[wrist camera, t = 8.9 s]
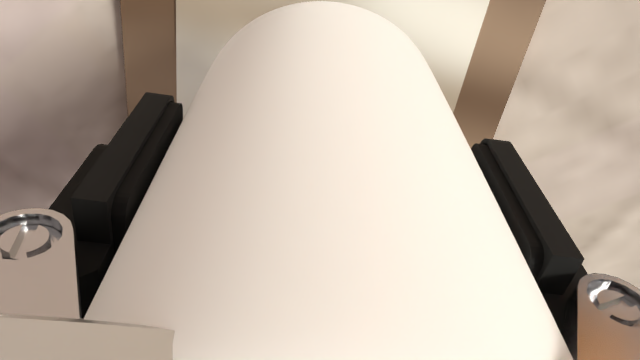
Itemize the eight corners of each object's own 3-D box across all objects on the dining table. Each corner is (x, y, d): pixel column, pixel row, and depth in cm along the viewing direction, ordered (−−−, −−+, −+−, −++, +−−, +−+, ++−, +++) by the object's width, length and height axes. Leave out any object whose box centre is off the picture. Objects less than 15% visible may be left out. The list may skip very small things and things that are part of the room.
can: (457, 173, 15) (714, 800, 5) (259, 228, 16) (163, 822, 6) (404, -45, 12) (846, 547, 2) (161, 45, 13) (-359, 693, 3)
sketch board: (450, 237, 25) (452, 244, 24) (137, 198, 23) (133, 206, 23) (612, -191, 15) (621, -193, 15) (107, -289, 14) (99, -294, 14)
